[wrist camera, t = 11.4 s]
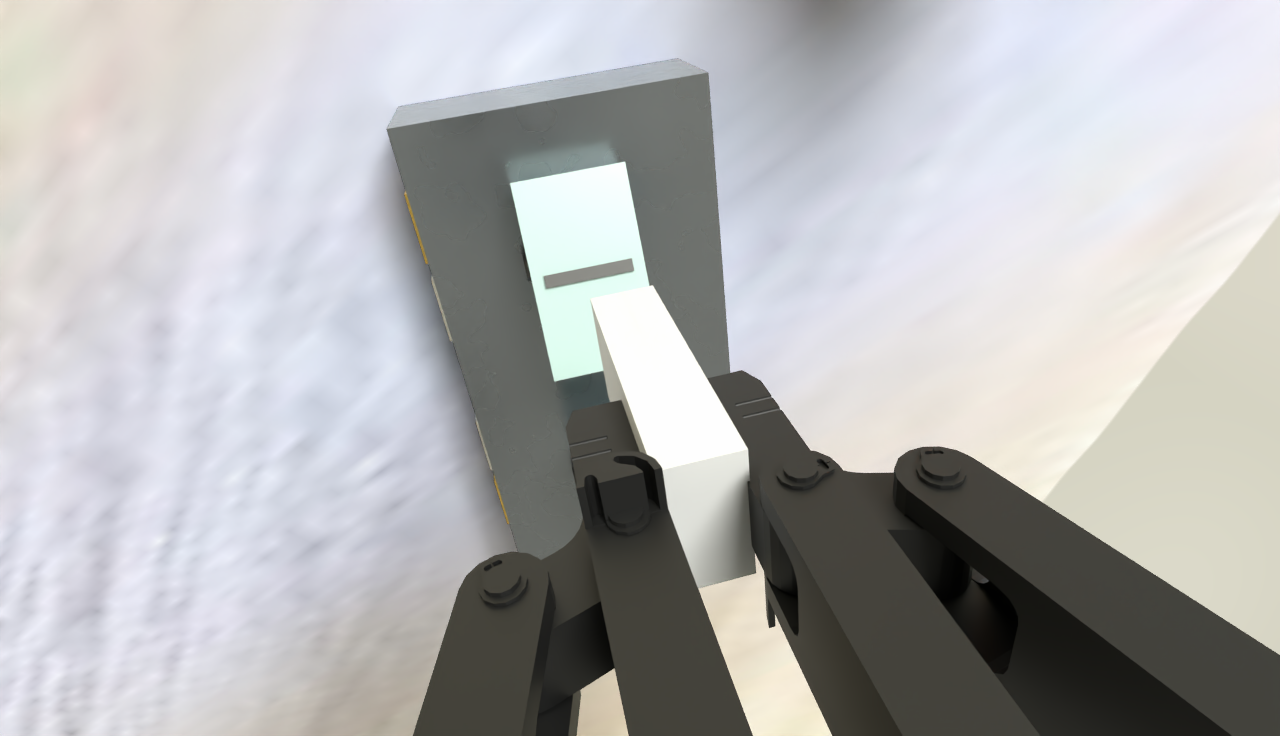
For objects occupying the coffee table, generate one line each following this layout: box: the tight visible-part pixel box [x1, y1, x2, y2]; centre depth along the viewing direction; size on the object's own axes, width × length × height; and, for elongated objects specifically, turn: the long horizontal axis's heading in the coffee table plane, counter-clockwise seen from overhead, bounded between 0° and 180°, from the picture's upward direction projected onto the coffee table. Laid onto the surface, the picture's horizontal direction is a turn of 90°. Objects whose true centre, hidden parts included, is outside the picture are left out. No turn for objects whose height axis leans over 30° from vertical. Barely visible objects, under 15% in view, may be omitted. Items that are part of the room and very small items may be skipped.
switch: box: [510, 162, 649, 381], centre depth 29 cm, size 5×8×2 cm, turn 8°
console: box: [387, 59, 730, 560], centre depth 36 cm, size 13×25×6 cm, turn 8°
